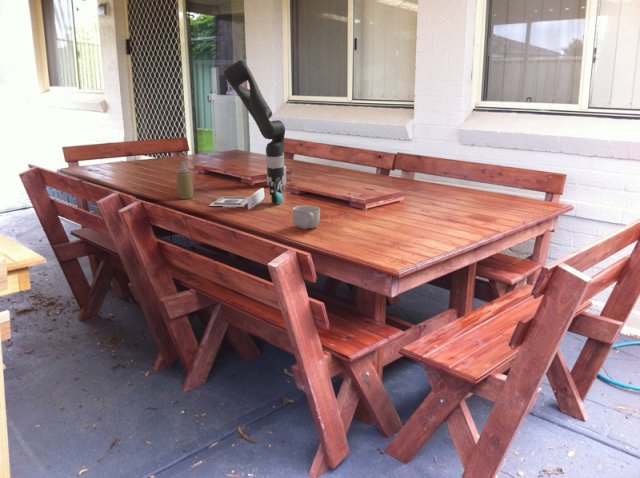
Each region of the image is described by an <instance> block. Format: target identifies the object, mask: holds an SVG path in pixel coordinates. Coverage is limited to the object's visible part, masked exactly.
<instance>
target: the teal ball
mask: <svg viewBox="0 0 640 478" xmlns="http://www.w3.org/2000/svg"><path fill="white" fill-rule="evenodd" d="M270 200H271V202H272V196H271V195H270ZM283 201H284V197H283V194H282V192H281V193H279V192H277V203H276V204H275V205H280V204H282V202H283Z"/></svg>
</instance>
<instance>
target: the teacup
mask: <svg viewBox="0 0 640 478" xmlns="http://www.w3.org/2000/svg"><path fill="white" fill-rule="evenodd" d="M320 217H321V208H320V207H319V206H314V205H313V206H312V205H298V206H297V205H296V206H294V207H292V222H293V224H294V225H295V226H296V227H297V228H298V227H299V228H298V229H300V228H313V227H315V226H316V227H317V226H318V225H319V223H320ZM316 227H315V228H316ZM313 229H314V228H313Z"/></svg>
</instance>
